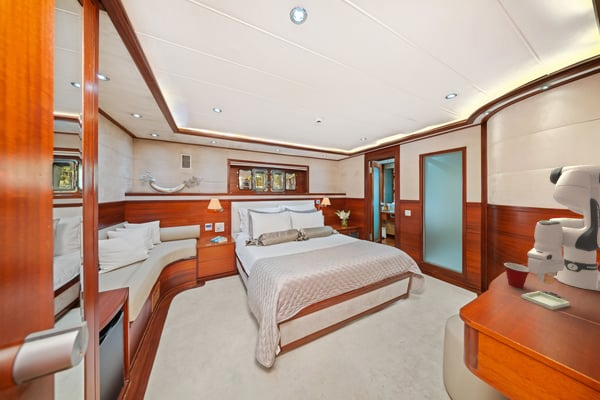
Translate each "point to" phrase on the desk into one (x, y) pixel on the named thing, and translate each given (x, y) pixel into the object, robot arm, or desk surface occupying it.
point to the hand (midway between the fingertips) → (545, 280)
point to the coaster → (553, 294)
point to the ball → (548, 279)
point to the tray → (545, 300)
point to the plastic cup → (516, 274)
